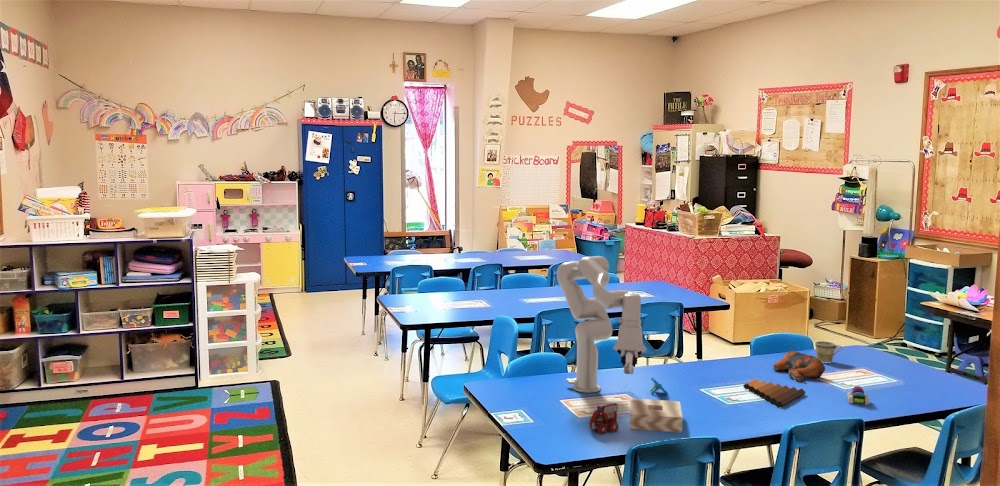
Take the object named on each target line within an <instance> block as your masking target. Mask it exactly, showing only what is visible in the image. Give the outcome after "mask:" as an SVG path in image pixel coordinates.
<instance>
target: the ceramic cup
mask: <svg viewBox="0 0 1000 486" xmlns="http://www.w3.org/2000/svg"><path fill="white" fill-rule="evenodd" d="M814 344H815V345H814V347H815V352H816V358H818V359H819V360H820V361H821V362H828V363H829V362H831V363H832V362H833V359H834V356H835V355H836V354H837V353H839V352H840V351H842V346H841V345H838V344H836V343H834V342H831V341H830V342H829V341H826V340H825V341H824V340H823V341H821V340H819V341H815V342H814ZM839 347H840V349H838V350H837V351H835V350H836V349H837V348H839Z"/></svg>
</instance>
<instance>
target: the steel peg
mask: <svg viewBox="0 0 1000 486" xmlns="http://www.w3.org/2000/svg"><path fill="white" fill-rule="evenodd" d="M624 355H625V360H624V366H623V373H624V374H626V375H633V374H634V371H635V370H634V368H635V367H634V355H635V352H634V351H629V350H625V351H624Z"/></svg>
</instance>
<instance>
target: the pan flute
mask: <svg viewBox="0 0 1000 486" xmlns="http://www.w3.org/2000/svg"><path fill="white" fill-rule="evenodd" d="M742 386H743V389H744V388H745V390H748V389H749V390H748V392H750V391H751V393H753V394H754V395H755V394H757V395H756V396H759V398H760V397H762V398H761V399H763V400H767V402H769V403H772V404H771V405H775V404H776V405H775V407H776V406H777V407H776V408H779V407H781V408H780V409H783V408H784V406H785V407H786V406H788V405H790V404H792V403H793V402H795V401H797V400H798V398H799V399H800V398H802V397H804V396H805V394H806V391H805V390H804V389H803V388H800V389H797V387H795V386H792V387H789V386H788V385H787V384H785V385H783V386H782V385H781V384H780V383H776V384H774V383H773V382H771V381H770V382H768V383H767V382H766V381H765V380H762V381H759V380H758V378H755V379H753V380H751V381H749V382H747V383H744V384H743V385H742ZM803 395H804V396H803ZM801 396H802V397H801ZM796 399H797V400H796ZM794 400H795V401H794ZM792 401H793V402H792ZM791 402H792V403H791ZM789 403H790V404H789ZM787 404H788V405H787ZM782 407H783V408H782Z"/></svg>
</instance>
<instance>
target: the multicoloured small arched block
mask: <svg viewBox="0 0 1000 486" xmlns="http://www.w3.org/2000/svg"><path fill="white" fill-rule="evenodd" d="M846 398H847V401H848V403H849V404H850V405H853V404H854V402H855V403H861V404H864V406H867V405H870V397H869V396H868V394H867V393H865V390H864V389H863V387H861V386H859V385H855V386H854V387H853V388H852V390H851V391H849V392H848V393H846Z"/></svg>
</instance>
